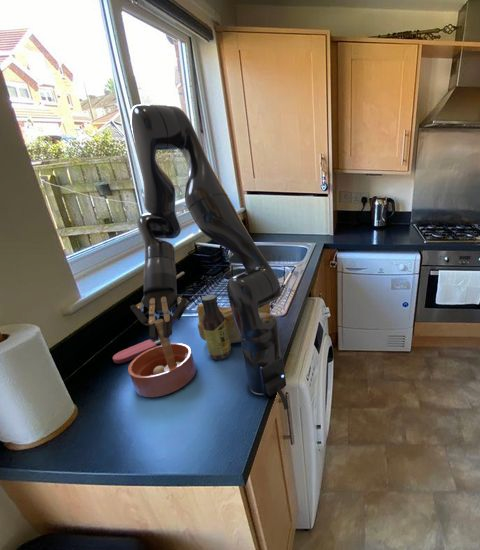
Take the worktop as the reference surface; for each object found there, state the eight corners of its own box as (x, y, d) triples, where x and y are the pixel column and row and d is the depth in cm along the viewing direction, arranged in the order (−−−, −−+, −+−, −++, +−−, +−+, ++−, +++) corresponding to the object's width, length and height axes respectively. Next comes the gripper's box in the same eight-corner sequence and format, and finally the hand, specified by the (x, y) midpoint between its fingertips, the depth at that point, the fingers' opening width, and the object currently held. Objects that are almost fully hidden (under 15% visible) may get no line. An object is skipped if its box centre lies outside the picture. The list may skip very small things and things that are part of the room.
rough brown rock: (282, 321, 114) (277, 284, 109) (272, 345, 98) (265, 302, 93) (219, 325, 113) (211, 287, 108) (198, 349, 97) (188, 307, 92)
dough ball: (156, 380, 84) (164, 375, 84) (148, 373, 83) (156, 368, 83) (162, 374, 87) (170, 368, 86) (154, 366, 86) (162, 361, 86)
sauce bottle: (229, 359, 93) (216, 302, 85) (207, 362, 92) (192, 303, 84) (234, 346, 98) (223, 292, 91) (213, 348, 98) (200, 293, 90)
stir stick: (185, 369, 85) (171, 320, 79) (168, 377, 82) (152, 327, 76) (179, 363, 88) (164, 314, 82) (162, 371, 85) (146, 321, 79)
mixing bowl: (204, 378, 85) (199, 358, 83) (144, 408, 75) (136, 386, 73) (185, 355, 94) (180, 337, 91) (129, 380, 84) (122, 359, 82)
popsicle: (170, 338, 100) (115, 362, 89) (172, 342, 100) (117, 366, 90) (164, 332, 103) (109, 355, 92) (165, 336, 103) (111, 359, 93)
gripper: (124, 275, 79) (122, 341, 73) (184, 268, 83) (187, 330, 77) (136, 285, 85) (135, 346, 80) (191, 278, 90) (194, 336, 84)
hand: (161, 338), depth 79 cm, fingers closed on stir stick, 2 cm apart
